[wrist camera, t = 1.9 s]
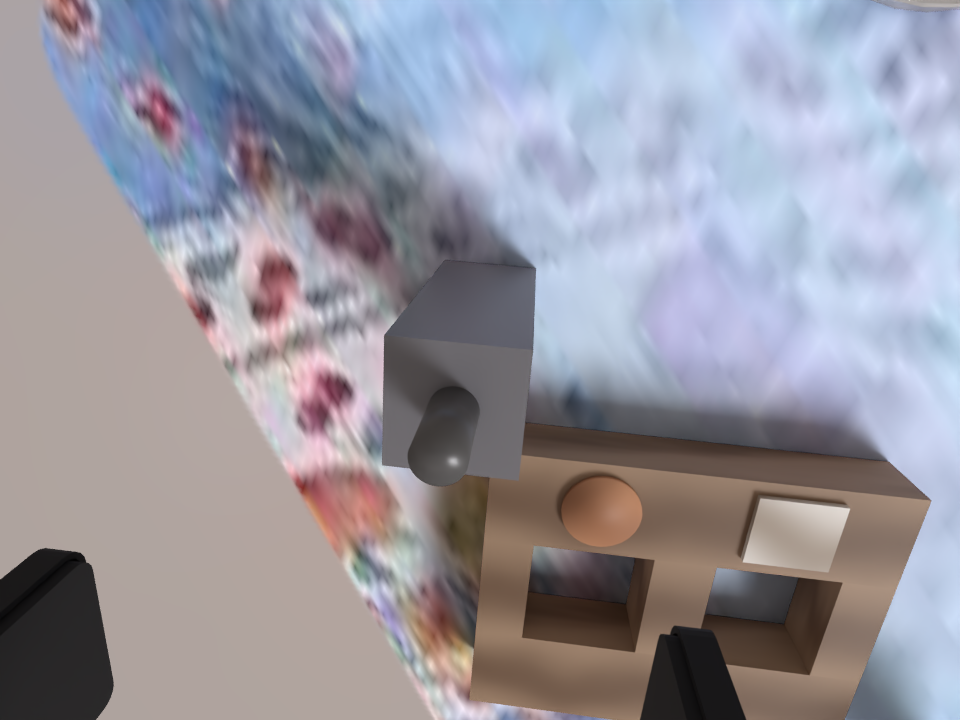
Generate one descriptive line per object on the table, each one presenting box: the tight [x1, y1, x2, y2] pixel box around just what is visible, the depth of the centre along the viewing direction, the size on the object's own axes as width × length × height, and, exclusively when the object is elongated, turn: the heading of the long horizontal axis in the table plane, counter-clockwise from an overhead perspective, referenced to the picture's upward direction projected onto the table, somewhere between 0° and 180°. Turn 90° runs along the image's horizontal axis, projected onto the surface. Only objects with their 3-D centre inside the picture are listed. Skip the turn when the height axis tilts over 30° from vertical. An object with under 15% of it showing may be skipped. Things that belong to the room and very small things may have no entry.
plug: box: [382, 260, 536, 486], centre depth 22 cm, size 4×4×15 cm
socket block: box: [470, 423, 931, 720], centre depth 32 cm, size 16×20×4 cm
